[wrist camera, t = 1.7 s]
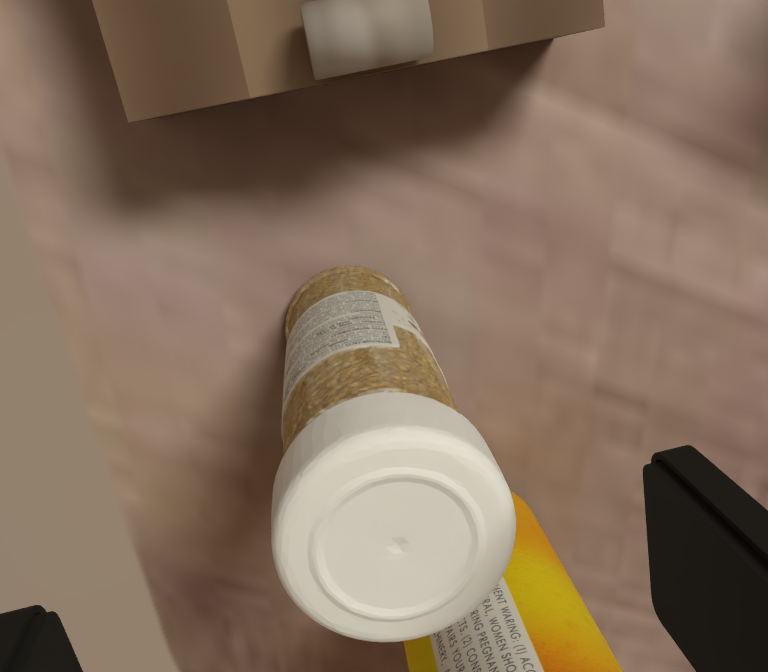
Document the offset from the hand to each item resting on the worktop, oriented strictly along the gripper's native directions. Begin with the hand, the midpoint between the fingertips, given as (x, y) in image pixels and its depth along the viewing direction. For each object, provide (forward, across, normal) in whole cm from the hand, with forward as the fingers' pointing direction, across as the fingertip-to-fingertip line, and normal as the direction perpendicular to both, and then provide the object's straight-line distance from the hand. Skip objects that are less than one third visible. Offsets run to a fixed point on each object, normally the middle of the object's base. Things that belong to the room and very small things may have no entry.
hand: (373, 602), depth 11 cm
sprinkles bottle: (+15, -1, 0) cm, 15 cm away
